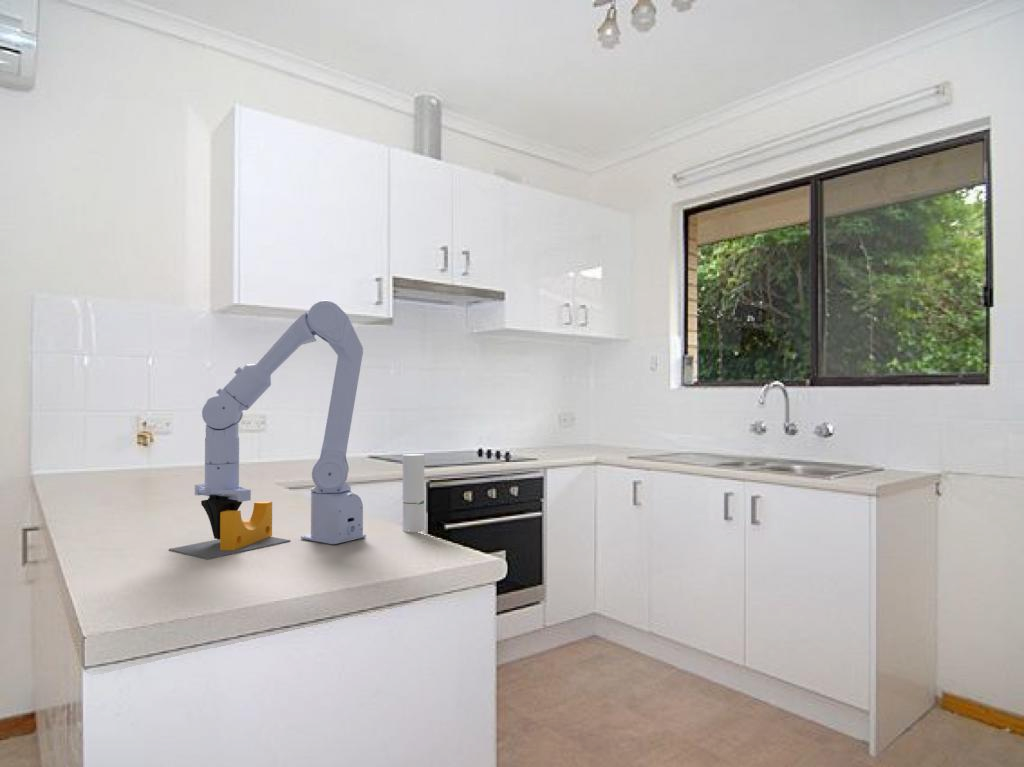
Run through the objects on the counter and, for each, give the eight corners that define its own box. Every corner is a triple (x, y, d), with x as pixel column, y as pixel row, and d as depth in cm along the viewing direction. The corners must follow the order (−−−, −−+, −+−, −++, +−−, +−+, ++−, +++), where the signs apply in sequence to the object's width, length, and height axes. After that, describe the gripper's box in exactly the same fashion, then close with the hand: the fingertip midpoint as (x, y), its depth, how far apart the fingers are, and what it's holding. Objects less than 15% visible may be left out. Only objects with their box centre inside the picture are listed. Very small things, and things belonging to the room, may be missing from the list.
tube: (406, 533, 126) (406, 455, 126) (399, 529, 129) (399, 454, 130) (427, 531, 128) (427, 454, 128) (420, 527, 131) (420, 453, 132)
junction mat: (290, 541, 119) (290, 540, 119) (207, 559, 105) (207, 558, 105) (251, 533, 125) (251, 532, 125) (168, 550, 112) (168, 548, 112)
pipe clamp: (251, 534, 123) (251, 501, 124) (272, 535, 123) (272, 501, 123) (211, 549, 112) (211, 511, 112) (233, 550, 111) (233, 512, 111)
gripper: (178, 462, 118) (178, 537, 118) (224, 467, 110) (224, 547, 110) (215, 459, 124) (214, 530, 124) (261, 463, 116) (260, 539, 116)
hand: (221, 538), depth 117 cm, fingers closed
